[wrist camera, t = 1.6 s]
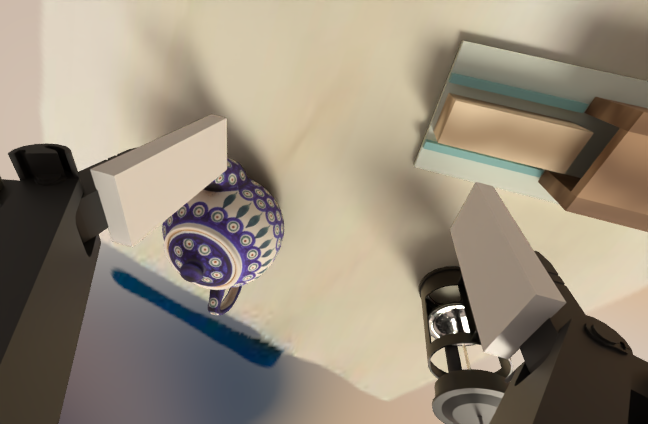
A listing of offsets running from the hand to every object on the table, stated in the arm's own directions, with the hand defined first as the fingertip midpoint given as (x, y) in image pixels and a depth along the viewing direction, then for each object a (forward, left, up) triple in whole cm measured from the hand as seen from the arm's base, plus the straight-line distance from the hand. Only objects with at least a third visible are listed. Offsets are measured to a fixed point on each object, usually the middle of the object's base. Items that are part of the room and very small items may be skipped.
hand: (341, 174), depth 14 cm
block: (0, +24, -20) cm, 31 cm away
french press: (+23, +19, -21) cm, 37 cm away
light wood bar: (0, +14, -20) cm, 24 cm away
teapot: (+19, -14, -21) cm, 32 cm away
